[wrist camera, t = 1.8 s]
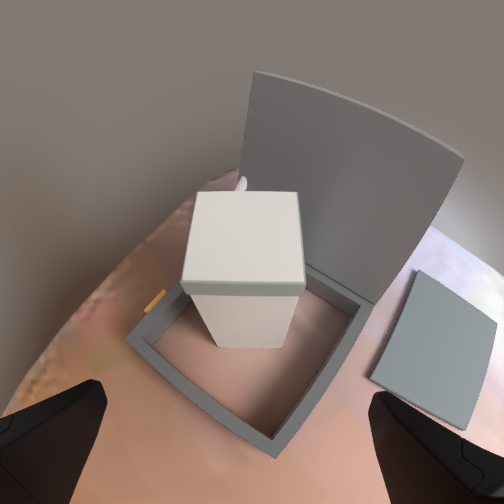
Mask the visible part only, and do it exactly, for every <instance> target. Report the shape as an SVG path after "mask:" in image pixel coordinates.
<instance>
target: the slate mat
mask: <svg viewBox="0 0 504 504" xmlns="http://www.w3.org/2000/svg"><path fill="white" fill-rule="evenodd" d="M496 329H497V323H496V322H495V321H493V320H492V319H491V318H489V317H488V316H487V315H485V314H484V313H482V312H481V311H480V310H478V309H477V308H476V307H474V306H473V305H471V304H470V303H468V302H467V301H466V300H464V299H463V298H461V297H460V296H458V295H457V294H456V293H454V292H453V291H451V290H450V289H448V288H447V287H445V286H444V285H442V284H441V283H439V282H438V281H436V280H435V279H433V278H432V277H430V276H428V275H427V274H425V273H424V272H422V271H421V270H418V271H417V273H416V276H415V278H414V281H413V284H412V286H411V289H410V291H409V294H408V297H407V299H406V302H405V304H404V306H403V309H402V311H401V313H400V316H399V318H398V320H397V323H396V325H395V327H394V329H393V331H392V334H391V336H390V338H389V340H388V342H387V344H386V346H385V348H384V350H383V352H382V354H381V356H380V358H379V360H378V362H377V364H376V366H375V368H374V370H373V371H372V373H371V375H370V377H369V380H371V381H372V382H374V383H376V384H377V385H379V386H381V387H383V388H384V389H386V390H388V391H390V392H391V393H393V394H395V395H397V396H398V397H400V398H402V399H404V400H406V401H407V402H409V403H411V404H413V405H415V406H417V407H418V408H420V409H422V410H424V411H426V412H428V413H430V414H431V415H433V416H435V417H437V418H439V419H441V420H443V421H445V422H447V423H449V424H451V425H453V426H454V427H456V428H458V429H460V430H462V431H463V430H466V428H467V426H468V424H469V421H470V419H471V416H472V413H473V411H474V408H475V406H476V403H477V400H478V397H479V394H480V391H481V388H482V385H483V382H484V378H485V375H486V372H487V368H488V364H489V360H490V356H491V352H492V348H493V344H494V339H495V334H496Z"/></svg>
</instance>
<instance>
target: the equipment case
mask: <svg viewBox="0 0 504 504" xmlns="http://www.w3.org/2000/svg"><path fill="white" fill-rule="evenodd" d="M464 160H465V159H464V156H463V154H461V153H459V152H458V151H457V150H455V149H453V148H452V147H450V146H448V145H447V144H445V143H443V142H441V141H440V140H438V139H436V138H435V137H433V136H431V135H429V134H428V133H426V132H424V131H422V130H420V129H418V128H416V127H414V126H412V125H411V124H409V123H407V122H404V121H402V120H400V119H398V118H396V117H394V116H392V115H390V114H388V113H386V112H383V111H381V110H379V109H377V108H374V107H372V106H370V105H367V104H365V103H362V102H360V101H357V100H355V99H352V98H350V97H347V96H344V95H341V94H339V93H336V92H333V91H330V90H328V89H325V88H321V87H319V86H315V85H312V84H309V83H306V82H302V81H299V80H296V79H292V78H288V77H285V76H281V75H277V74H273V73H269V72H265V71H259V72H254V73H253V79H252V85H251V92H250V99H249V106H248V112H247V119H246V126H245V133H244V140H243V148H242V156H241V162H240V170H239V177H238V184H237V186H236V188H235V190H234V191H274V192H298V200H299V209H300V219H301V229H302V239H303V250H304V262H305V275H306V287H305V288H306V289H307V290H309V291H311V292H312V293H314V294H316V295H317V296H319V297H320V298H322V299H324V300H325V301H327V302H329V303H330V304H332V305H334V306H335V307H337V308H338V309H340V310H342V311H343V312H345V313H347V314H348V315H350V316H351V319H350V321H349V322H348V324H347V326H346V327H345V329H344V331H343V333H342V334H341V336H340V338H339V339H338V341H337V343H336V344H335V346H334V348H333V349H332V351H331V352H330V354H329V356H328V357H327V359H326V360H325V362H324V363H323V365H322V367H321V368H320V370H319V371H318V373H317V374H316V376H315V377H314V379H313V380H312V382H311V383H310V385H309V386H308V388H307V389H306V390H305V392H304V393H303V395H302V396H301V398H300V399H299V400H298V402H297V403H296V405H295V406H294V407H293V409H292V410H291V411H290V413H289V414H288V415H287V417H286V418H285V419H284V421H283V422H282V423H281V425H280V426H279V427H278V429H277V430H276V431H275V432H274V434H273V435H272V436H271V437H269V436H267V435H266V434H264V433H263V432H261V431H260V430H258V429H257V428H255V427H254V426H252V425H251V424H249V423H248V422H246V421H245V420H243V419H242V418H240V417H239V416H237V415H236V414H235V413H233V412H232V411H230V410H229V409H228V408H226V407H225V406H224V405H222V404H221V403H219V402H218V401H217V400H215V399H214V398H213V397H212V396H210V395H209V394H208V393H206V392H205V391H204V390H202V389H201V388H200V387H199V386H197V385H196V384H195V383H194V382H192V381H191V380H190V379H189V378H188V377H186V376H185V375H184V374H183V373H182V372H180V371H179V370H178V369H177V368H176V367H175V366H173V365H172V364H171V363H170V362H169V361H168V360H166V359H165V358H164V357H163V356H162V355H161V354H160V353H159V352H158V351H156V350H155V349H154V348H153V347H152V346H153V344H154V343H155V342H156V341H157V340H158V339H159V338H160V336H161V335H162V334H163V333H164V332H165V331H166V330H167V328H168V327H169V326H170V325H171V324H172V323H173V322H174V320H175V319H176V318H177V317H178V316H179V315H180V314H181V312H182V311H183V310H184V309H185V308H186V307H187V306H188V305H189V303H190V302H191V301H192V298H191V296H190V295H189V294H186V293H185V291H184V289H183V287H182V285H181V283H180V280H181V277H180V278H179V279H178V280H177V281H176V283H175V284H174V285H173V286H172V287H171V288H170V289H169V290H168V291H165V290H164V289H163V290H162V291H161V292H160V293H159V294H158V295H157V296H156V297H155V299H154V300H153V301H152V302H151V303H150V304H149V305H148V306H147V307H146V308H145V310H144V311H145V312H146V313H147V314H146V316H145V317H144V318H143V319H142V320H141V321H140V322H139V323H138V325H137V326H136V327H135V328H134V329H133V330H132V331H131V332H130V334H129V335H128V336H127V337H126V338H125V340H126V341H127V342H128V343H129V344H130V345H131V346H132V347H133V348H134V349H135V350H136V351H137V352H138V353H139V354H140V355H141V356H142V357H143V358H144V359H145V360H146V361H147V362H148V363H149V364H150V365H151V366H152V367H153V368H155V369H156V370H157V371H158V372H159V373H160V374H161V375H162V376H163V377H164V378H166V379H167V380H168V381H169V382H170V383H171V384H172V385H174V386H175V387H176V388H177V389H178V390H179V391H181V392H182V393H183V394H184V395H185V396H187V397H188V398H189V399H190V400H192V401H193V402H194V403H195V404H197V405H198V406H199V407H200V408H202V409H203V410H204V411H205V412H207V413H208V414H209V415H211V416H212V417H213V418H215V419H216V420H217V421H219V422H220V423H221V424H223V425H224V426H226V427H227V428H228V429H230V430H231V431H233V432H234V433H236V434H237V435H239V436H240V437H241V438H243V439H244V440H246V441H247V442H249V443H250V444H252V445H254V446H255V447H257V448H258V449H260V450H261V451H263V452H265V453H266V454H268V455H270V456H271V457H273V458H275V459H276V458H277V457H278V455H279V454H280V453H281V452H282V450H283V449H284V448H285V447H286V445H287V444H288V443H289V442H290V440H291V439H292V438H293V436H294V435H295V434H296V432H297V431H298V430H299V428H300V427H301V426H302V424H303V423H304V422H305V420H306V419H307V417H308V416H309V415H310V413H311V412H312V410H313V409H314V408H315V406H316V405H317V403H318V402H319V400H320V399H321V397H322V396H323V394H324V393H325V391H326V390H327V388H328V387H329V385H330V383H331V382H332V380H333V379H334V377H335V376H336V374H337V372H338V371H339V369H340V367H341V366H342V364H343V362H344V361H345V359H346V357H347V356H348V354H349V352H350V351H351V349H352V347H353V345H354V344H355V342H356V340H357V338H358V336H359V335H360V333H361V331H362V329H363V327H364V325H365V323H366V321H367V320H368V318H369V316H370V314H371V312H372V310H373V308H374V306H375V305H376V303H377V302H378V301H379V299H380V298H381V297H382V295H383V294H384V293H385V291H386V290H387V289H388V287H389V286H390V285H391V283H392V282H393V280H394V279H395V278H396V276H397V275H398V273H399V272H400V271H401V269H402V268H403V266H404V265H405V263H406V262H407V260H408V259H409V257H410V256H411V254H412V253H413V251H414V250H415V248H416V247H417V245H418V244H419V242H420V240H421V239H422V237H423V236H424V234H425V232H426V231H427V229H428V227H429V226H430V224H431V222H432V221H433V219H434V217H435V216H436V214H437V212H438V210H439V209H440V207H441V205H442V203H443V202H444V200H445V198H446V196H447V194H448V192H449V190H450V189H451V186H452V185H453V183H454V181H455V179H456V177H457V175H458V173H459V171H460V169H461V167H462V165H463V163H464Z"/></svg>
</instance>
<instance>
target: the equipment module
mask: <svg viewBox="0 0 504 504" xmlns="http://www.w3.org/2000/svg"><path fill="white" fill-rule="evenodd" d="M180 283H181V285H182V287H183V289H184V291H185V293H186V294H189V295H190V296H191V298H192V300H193V302H194V304H195V305H196V307H197V309H198V311H199V313H200V315H201V317H202V319H203V321H204V322H205V324H206V326H207V328H208V330H209V332H210V333H211V335H212V337H213V339H214V341H215V342H216V344H217V346H218V347H223V348H258V349H281V348H282V345H283V343H284V340H285V337H286V334H287V331H288V328H289V325H290V322H291V320H292V317H293V314H294V311H295V308H296V305H297V302H298V299H299V296H302V295H303V293H304V290H305V287H306V275H305V262H304V250H303V239H302V229H301V219H300V209H299V200H298V192H274V191H215V192H196V197H195V202H194V207H193V212H192V217H191V222H190V228H189V233H188V238H187V244H186V250H185V256H184V262H183V268H182V274H181V280H180Z"/></svg>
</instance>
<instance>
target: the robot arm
mask: <svg viewBox="0 0 504 504" xmlns="http://www.w3.org/2000/svg"><path fill="white" fill-rule="evenodd" d="M106 407H107V397H106V394H105V391H104V389H103V386H102V383H101V382H100V381H97V380H93V379H89V380H87V381H85V382H82V383H80V384H78V385H76V386H74V387H72V388H70V389H67V390H65V391H63V392H61V393H59V394H56V395H54V396H52V397H50V398H48V399H45V400H43V401H41V402H39V403H36V404H34V405H32V406H29V407H27V408H25V409H22V410H20V411H18V412H15V413H13V414H10V415H8V416H6V417H3V418H0V504H69V503H70V500H71V498H72V495H73V493H74V490H75V488H76V485H77V482H78V480H79V478H80V475H81V473H82V470H83V468H84V465H85V463H86V461H87V458H88V456H89V454H90V451H91V449H92V447H93V445H94V442H95V440H96V437H97V435H98V432H99V428H100V425H101V422H102V419H103V416H104V413H105V410H106ZM368 417H369V422H370V427H371V432H372V437H373V442H374V447H375V452H376V456H377V459H378V462H379V465H380V469H381V472H382V475H383V478H384V482H385V485H386V488H387V492H388V495H389V499H390V502H391V504H504V457H501V456H499V455H496V454H494V453H491V452H489V451H487V450H485V449H483V448H481V447H479V446H477V445H475V444H473V443H471V442H469V441H468V440H466V439H464V438H461V436H459V435H457V434H456V433H454V432H452V431H451V430H449V429H447V428H446V427H444V426H442V425H441V424H439V423H437V422H436V421H434V420H432V419H431V418H429V417H428V416H426V415H424V414H423V413H421V412H420V411H418V410H416V409H415V408H413V407H412V406H410V405H408V404H407V403H405V402H404V401H402V400H401V399H399V398H397V397H396V396H394V395H393V394H391V393H390V392H388V391H380V392H376V393H375V394H374V395H373V398H372V401H371V404H370V407H369V411H368Z"/></svg>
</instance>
